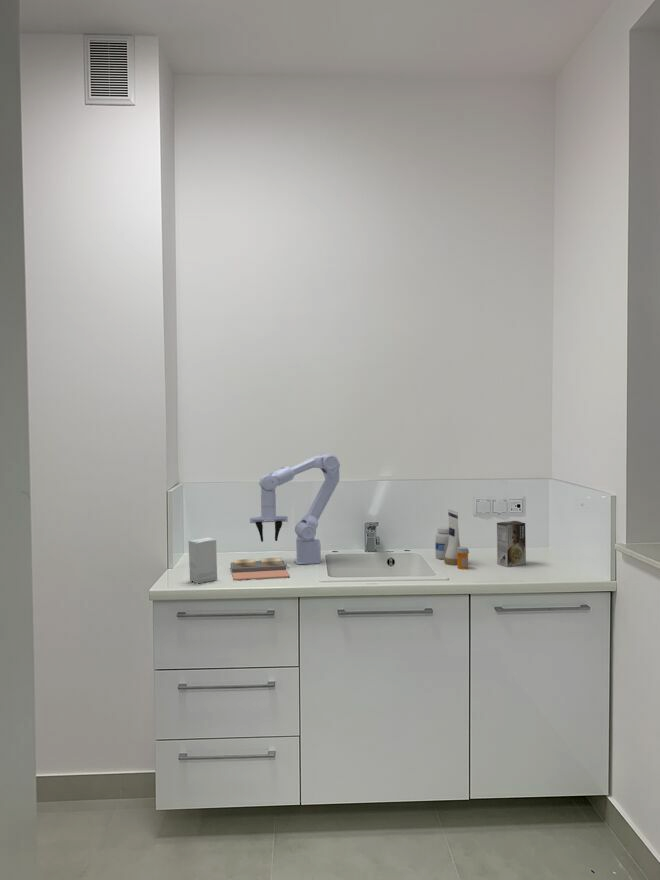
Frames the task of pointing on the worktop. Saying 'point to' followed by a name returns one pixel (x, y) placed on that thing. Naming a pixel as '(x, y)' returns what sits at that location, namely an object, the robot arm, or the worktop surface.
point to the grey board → (257, 568)
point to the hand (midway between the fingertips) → (269, 540)
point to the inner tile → (271, 561)
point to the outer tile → (245, 563)
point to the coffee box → (511, 543)
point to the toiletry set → (451, 544)
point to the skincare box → (203, 560)
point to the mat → (261, 575)
